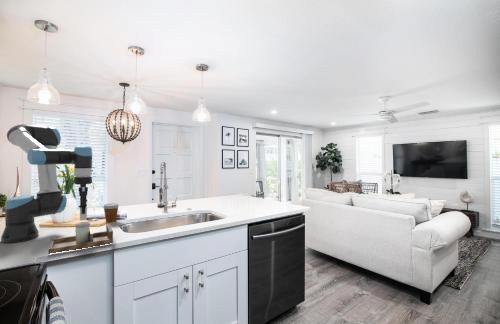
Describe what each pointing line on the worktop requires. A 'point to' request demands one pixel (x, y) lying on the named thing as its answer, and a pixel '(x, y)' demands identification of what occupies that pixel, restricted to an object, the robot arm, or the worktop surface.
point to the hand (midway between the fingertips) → (83, 217)
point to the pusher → (91, 234)
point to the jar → (82, 232)
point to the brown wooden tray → (70, 243)
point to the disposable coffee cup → (111, 212)
